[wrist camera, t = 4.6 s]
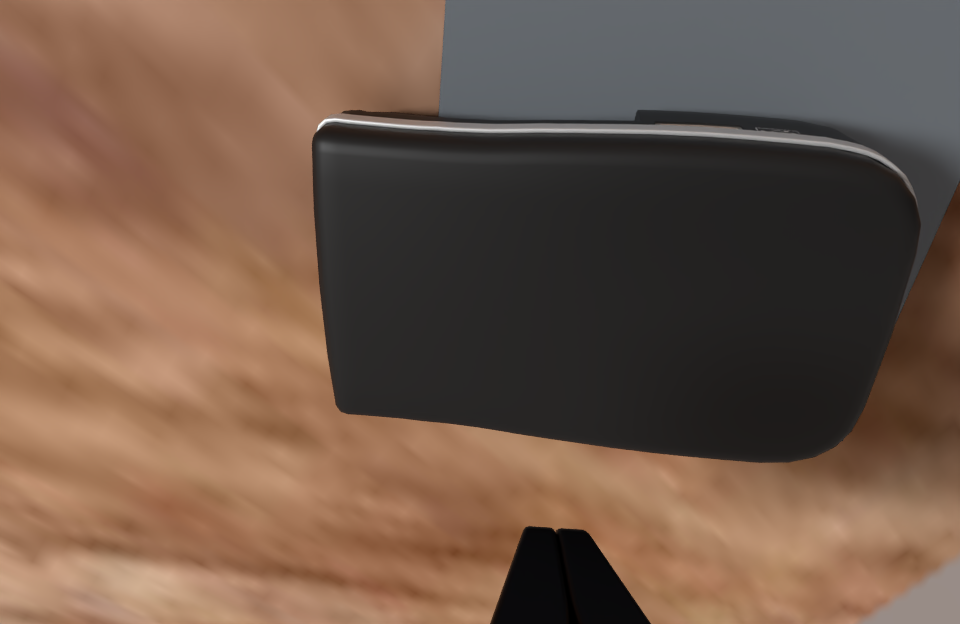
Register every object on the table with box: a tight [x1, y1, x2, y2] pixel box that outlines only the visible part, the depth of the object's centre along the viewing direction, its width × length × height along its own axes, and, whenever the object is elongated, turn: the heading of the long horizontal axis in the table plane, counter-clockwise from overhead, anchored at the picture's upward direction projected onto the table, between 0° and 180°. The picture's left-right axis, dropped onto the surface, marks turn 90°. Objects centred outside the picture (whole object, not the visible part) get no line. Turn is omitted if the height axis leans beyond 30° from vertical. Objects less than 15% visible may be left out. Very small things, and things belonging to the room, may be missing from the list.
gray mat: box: [439, 0, 960, 441], centre depth 16 cm, size 12×16×1 cm
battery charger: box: [312, 110, 921, 463], centre depth 16 cm, size 7×4×11 cm
